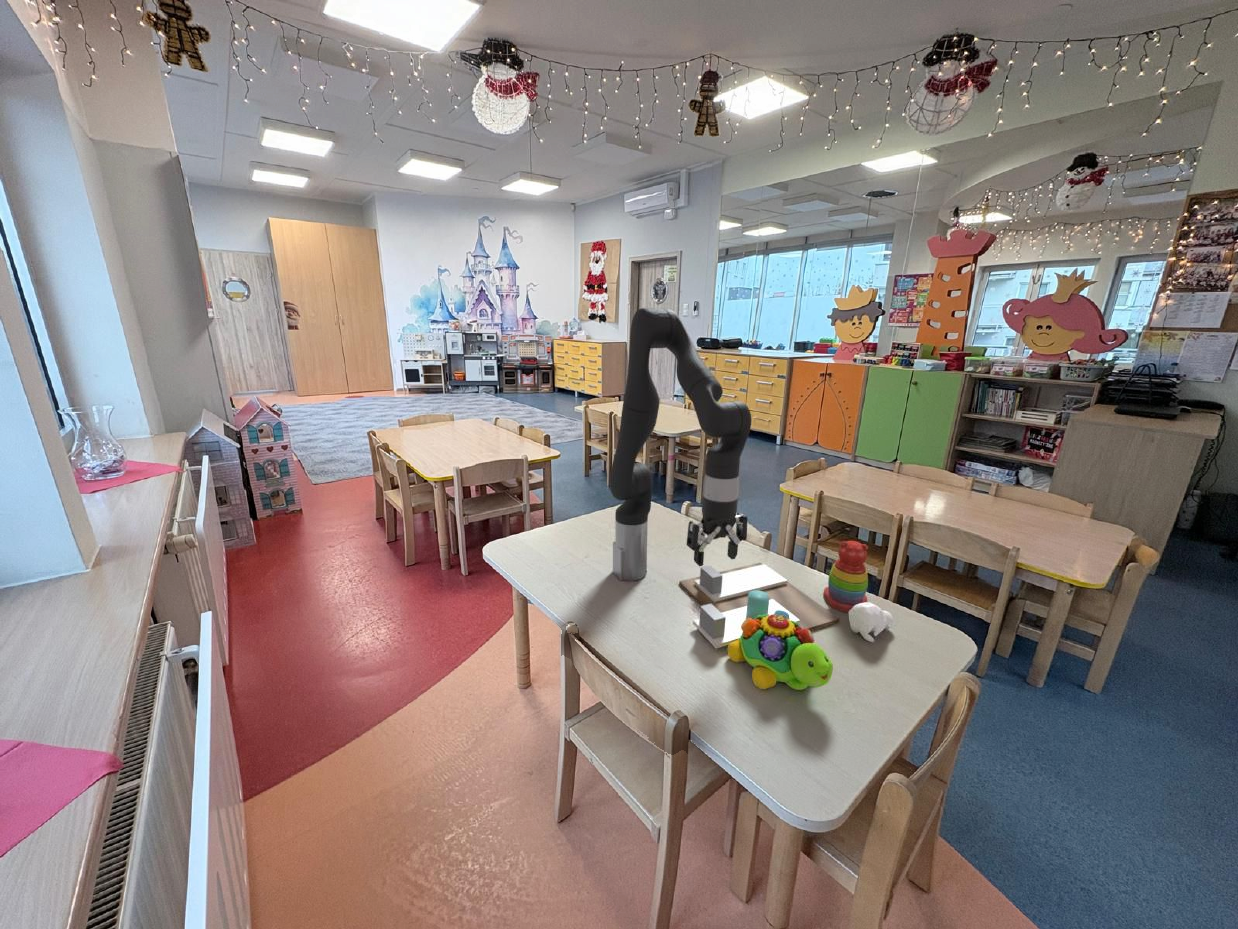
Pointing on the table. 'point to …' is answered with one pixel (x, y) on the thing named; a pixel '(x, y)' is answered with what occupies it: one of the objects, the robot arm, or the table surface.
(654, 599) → the table surface
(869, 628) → the white toy rabbit
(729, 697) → the table surface
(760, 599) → the teal cylinder
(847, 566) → the stacking bear
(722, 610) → the lane board
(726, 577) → the empty strip
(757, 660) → the turtle toy
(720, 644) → the strip
